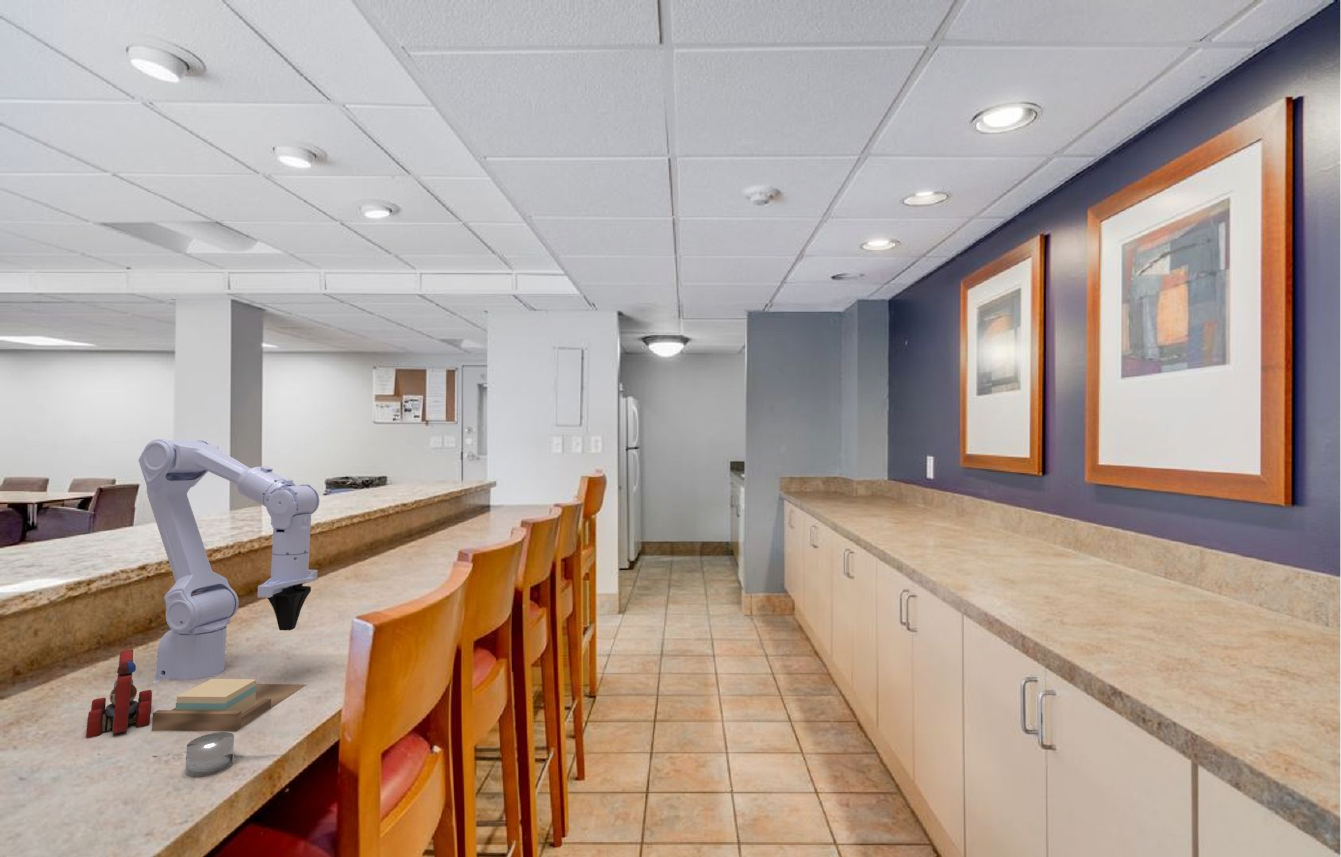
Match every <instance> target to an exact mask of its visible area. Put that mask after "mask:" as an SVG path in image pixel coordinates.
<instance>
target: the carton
mask: <svg viewBox="0 0 1341 857" xmlns="http://www.w3.org/2000/svg"><path fill="white" fill-rule="evenodd" d="M256 684H257V679H252V678H251V679H250V678H249V679H248V678H247V679H246V678H240V679H239V678H210V679H208V680H207V681H205V682H202V683H200V684H198V685H196V686H195V687H193V688H191V689H189V690H187V691H185V692H183V693H181V694H179V695H177V696H176V702H175V708H176V710H192V711H242V713H243V712H245V711H246V710H248V709H249V708H251V707H252V706H254V705H255V699H256V690H257V685H256Z"/></svg>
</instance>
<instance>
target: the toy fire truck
mask: <svg viewBox="0 0 1341 857" xmlns="http://www.w3.org/2000/svg"><path fill="white" fill-rule="evenodd" d="M136 669H137V666H136V664H135V663H134V649H133V648H131V649H125V650H121V651H120V652H119V657H118V667H117V670H116V673H117V678H116V680H115V681H114V684H113V689H112V690H111V692H110V693H109V701H110V702H111V703H109V704H108V705H106V702H107V700H106V699H107V698H106V697H99V698H95V699H92V701H91V707H90V711H89V712H88V714H87V722H86V733H85V738H86V739H87V738H93V737H99V736H100V735H102V733H107V732H110V731H111V730H112V731H111V732H112V733H113V734H118V733H119V734H120V733H125V732H127V730H128V724H129V723H134V722H135V728H144V727H146V726H147V727H148V726H149V725H150V723H151V722H150V721H151V713H152V703H153V702H152V701H153V691H152V689H146V690H142V691H140V692H138V689H137V687H136V686H135V685H134V679H133V673H135V671H136ZM137 694H138V701H137V700H135V698H136V696H137Z"/></svg>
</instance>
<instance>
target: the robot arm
mask: <svg viewBox="0 0 1341 857" xmlns="http://www.w3.org/2000/svg"><path fill="white" fill-rule="evenodd" d="M138 462H139V465H140V469H141V472H142V475H143V479H144V482H145V484H146V494H147V498H148V501H149V505H150V508H151V510H152V513H153V517H154V521H155V523H156V526H157V528H158V532H159V535H160V539H161V541H162V544H163V547H164V551H165V553H166V557H167V560H168V562H169V566H170V569H171V573H172V575H173V578H174V581H175V583H174V585H172V587H171V588H170V589H169V590H168V591H167V593H166V594H164V596H163V599H164V602H165V620H166V623H167V625H168V627H169V628H170V629H169V630H168V631H167V632H166V633H164V634H163V636H162V637H161V639H160V641H159V643H158V646H157V652H156V653H157V654H156V655H157V656H156V657H157V658H156V672H155V673H156V674H155V680H154V681H152V683H151V685H153V684H156V683H158V682H160V681H162V680H164V679H165V680H179V681H195V680H201V679H206V678H210V677H213V676H216V675H219V674H221V673H222V672H224V671H225V664H226V663H225V662H226V643H227V639H226V638H227V628H228V627H227V625H229V624H231V619H232V617H234V616H235V615H236V614H237V612H238V610H239V605H240V603H239V602H240V600H239V597H238V595H237V593H236V591H235V590H234V589H233V588H232V587H231V585H230V584H229V582H228V578H226V577H224V576H223V575H221V574H219V573H217V572H215V571H213V569H212V567H211V564H210V560H209V557H208V554H207V552H206V548H205V545H204V542H203V539H202V536H201V534H200V530H199V527H198V524H197V521H196V518H195V516H194V512H193V508H192V507H191V503H190V500H189V497H188V492H189V491H190V490H191V488H193V487H195V486H196V485H197V483H199V482H200V481H201V480H202V479H203V478H204V476H206V474H207V473H208V472H209V473H211V474H213V475H216V476H218V477H219V478H222V479H225V480H227V481H229V482H231V483H234V484H237V490H238V492H239V494H240V495H243V496H244V497H246V498H248V499H250V500H252V501H254V502H256V503H258V504H259V505H261V506H264V507H265V508H266V511H267V513H268V515H269V516H270V525H271V527H272V530H273V531H272V547H271V564H270V565H271V566H270V578H268V580H266V581H264V583H262V584H259V585H258V586H257V598H259V599H260V598H261V599H263V598H264V599H265V598H266V599H267V600H268V601H269V603H270V605H271V607H272V609H273V611H274V614H275V617H276V623H277V626H278V629H279V631H292V630H294V629H296V626H297V623H298V620H299V617H300V614H301V610H302V608H303V606H304V603H305V601H306V600H307V598H308V596H309V595H310V593H311V591H312V586H309V585H303V584H306V583H311V582H315V581H317V580H318V569H310V568H309V565H310V548H311V528H312V527H311V526H312V515H313V514H314V513H315V512H317V510H318V509H319V505H320V495H319V492H318V491H317V490H316V489H315V488H314V487H312V486H311V485H310V484H308V483H306V484H304V483H303V484H299V485H297V484H295V483H294V480H293V479H291V478H290V477H289V478H288V477H286V478H284V477H282V476H281V475H279V474H276V473H275V472H273V471H274V470H273V468H272V467H270V466H265V465H264V466H255V467H248V466H247V465H245V464H244V463H242V462H240V461H239V460H237V459H235V458H234V457H232V456H230V455H229V454H227V453H226V452H223V451H222V450H220V448H219V446H218V445H216V444H211V443H210V442H209V441H208V440H203V439H202V440H199V439H198V440H167V439H162V438H158V439H153V440H151V441H149V442H148V443H147V444H146V445H145V447H144V449H143V451H142V452H141V455H140V456H139V458H138Z"/></svg>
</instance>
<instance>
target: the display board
mask: <svg viewBox="0 0 1341 857" xmlns="http://www.w3.org/2000/svg"><path fill="white" fill-rule="evenodd" d="M256 685H257V690H256V699H255V705H254V706H252V707H251V708H249V709H248V710H246V711H245V712H243V713H242V711H192V710H176V707H174V708H173V709H170V710H169V709H165V710H164V709H163V710H162V709H158V710H156V711H154V712H152V718H151V719H152V720H151V721H152V722H151V732H204V733H205V732H212V733H213V732H214V733H218V732H228V733H231V732H232V733H235V732H238V731H239V730H241V729H242V728H244V727H245V726H247V725H249V724H250V723H252V722H253V721H254V720H256V719H258V718H259V717H260V716H262V715H263V714H265V713H267V712H268V711H269V710H271V709H273V708H274V707H275V706H277V705H279V704H280V703H282V702H284V700H286V699H287V698H289V697H290V696H292V695H294V694H295V693H297V692H298V691H300V690H301V689H303V688H304V687H306V686H307V684H304V683H303V684H298V683H297V684H296V683H294V684H293V683H292V684H291V683H289V684H287V683H285V684H284V683H280V684H279V683H256Z"/></svg>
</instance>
